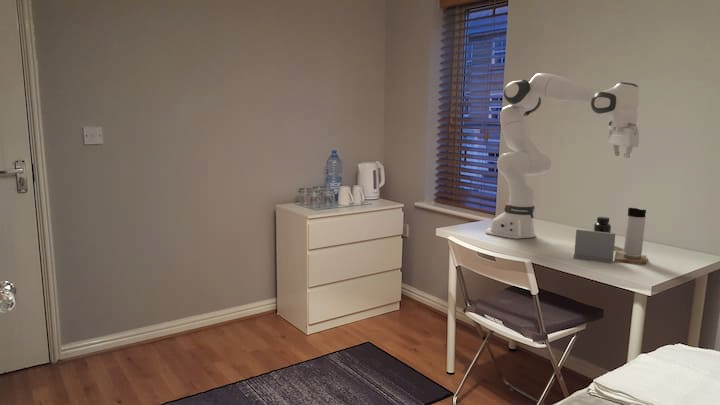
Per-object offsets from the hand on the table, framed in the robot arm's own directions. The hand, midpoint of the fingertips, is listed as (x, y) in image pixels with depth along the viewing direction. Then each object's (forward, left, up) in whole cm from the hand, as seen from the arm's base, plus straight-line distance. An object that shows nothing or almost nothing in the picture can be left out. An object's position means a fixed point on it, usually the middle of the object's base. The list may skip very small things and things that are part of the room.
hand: (621, 156), depth 217 cm
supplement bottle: (-5, +6, -39) cm, 40 cm away
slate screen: (-6, -22, -39) cm, 45 cm away
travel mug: (+7, -15, -38) cm, 42 cm away
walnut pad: (+7, -15, -39) cm, 42 cm away
